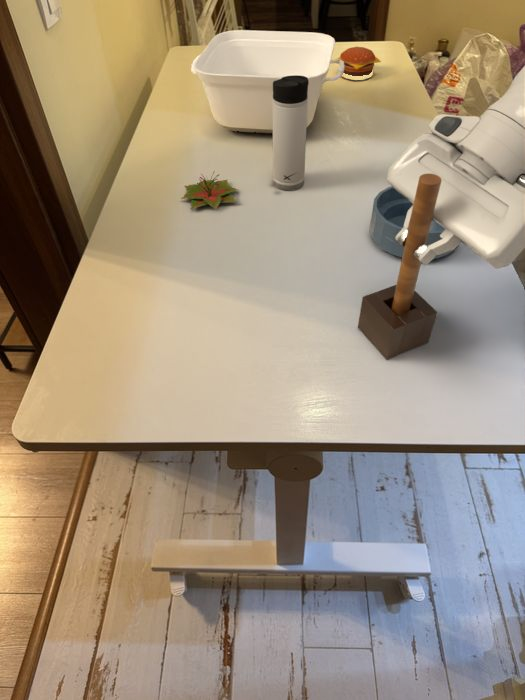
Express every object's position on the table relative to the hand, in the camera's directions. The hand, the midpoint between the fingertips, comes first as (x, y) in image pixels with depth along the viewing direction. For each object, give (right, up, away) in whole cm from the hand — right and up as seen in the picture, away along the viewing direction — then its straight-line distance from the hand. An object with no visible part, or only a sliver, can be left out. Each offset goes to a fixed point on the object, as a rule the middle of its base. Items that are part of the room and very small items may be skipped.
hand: (409, 251), depth 64 cm
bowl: (+8, +8, +27) cm, 30 cm away
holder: (+1, -10, +11) cm, 15 cm away
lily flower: (-28, +18, +38) cm, 50 cm away
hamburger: (+8, +63, +78) cm, 101 cm away
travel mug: (-13, +21, +41) cm, 48 cm away
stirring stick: (+1, -8, +9) cm, 12 cm away
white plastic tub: (-17, +43, +61) cm, 76 cm away
